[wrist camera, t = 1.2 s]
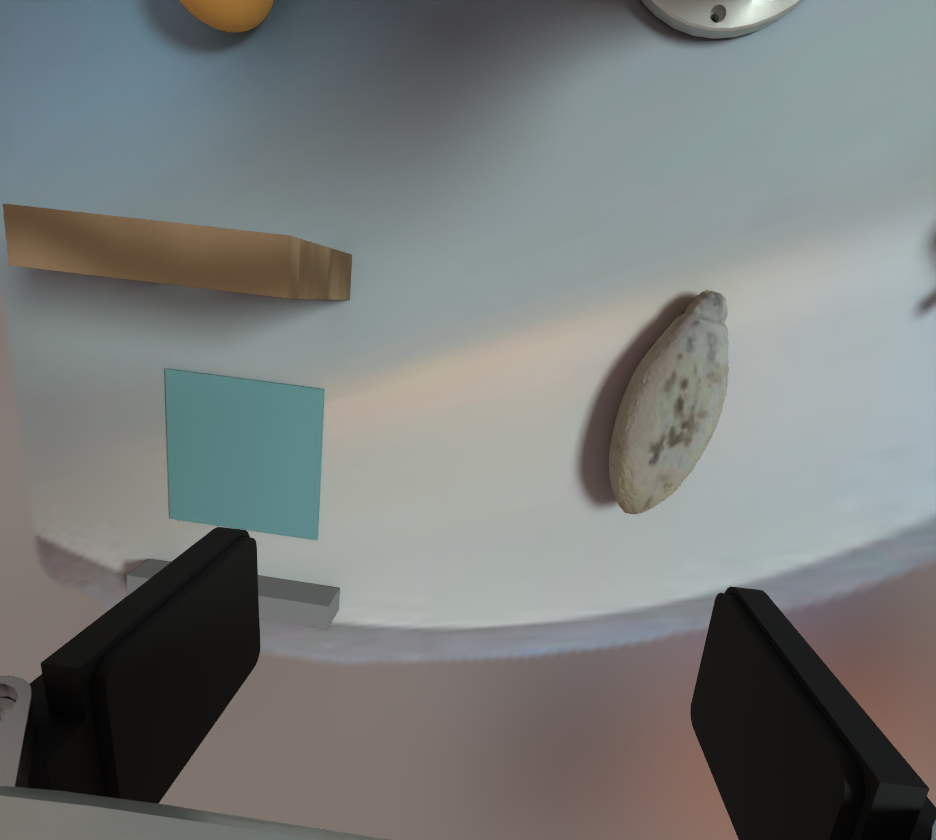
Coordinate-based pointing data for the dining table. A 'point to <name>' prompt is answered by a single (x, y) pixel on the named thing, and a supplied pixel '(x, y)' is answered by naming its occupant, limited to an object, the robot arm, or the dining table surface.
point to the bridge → (175, 254)
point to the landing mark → (244, 453)
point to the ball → (229, 13)
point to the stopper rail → (271, 597)
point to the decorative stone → (671, 406)
